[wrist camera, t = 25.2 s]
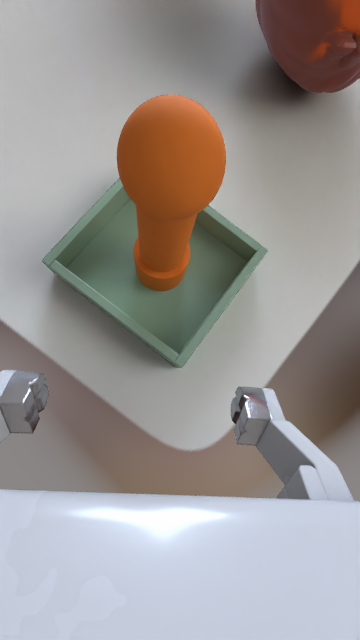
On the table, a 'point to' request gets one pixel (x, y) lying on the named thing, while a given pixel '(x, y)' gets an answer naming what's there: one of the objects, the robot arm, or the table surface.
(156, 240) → the plug
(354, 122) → the table surface
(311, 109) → the table surface
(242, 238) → the basin
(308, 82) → the orange fox figurine
